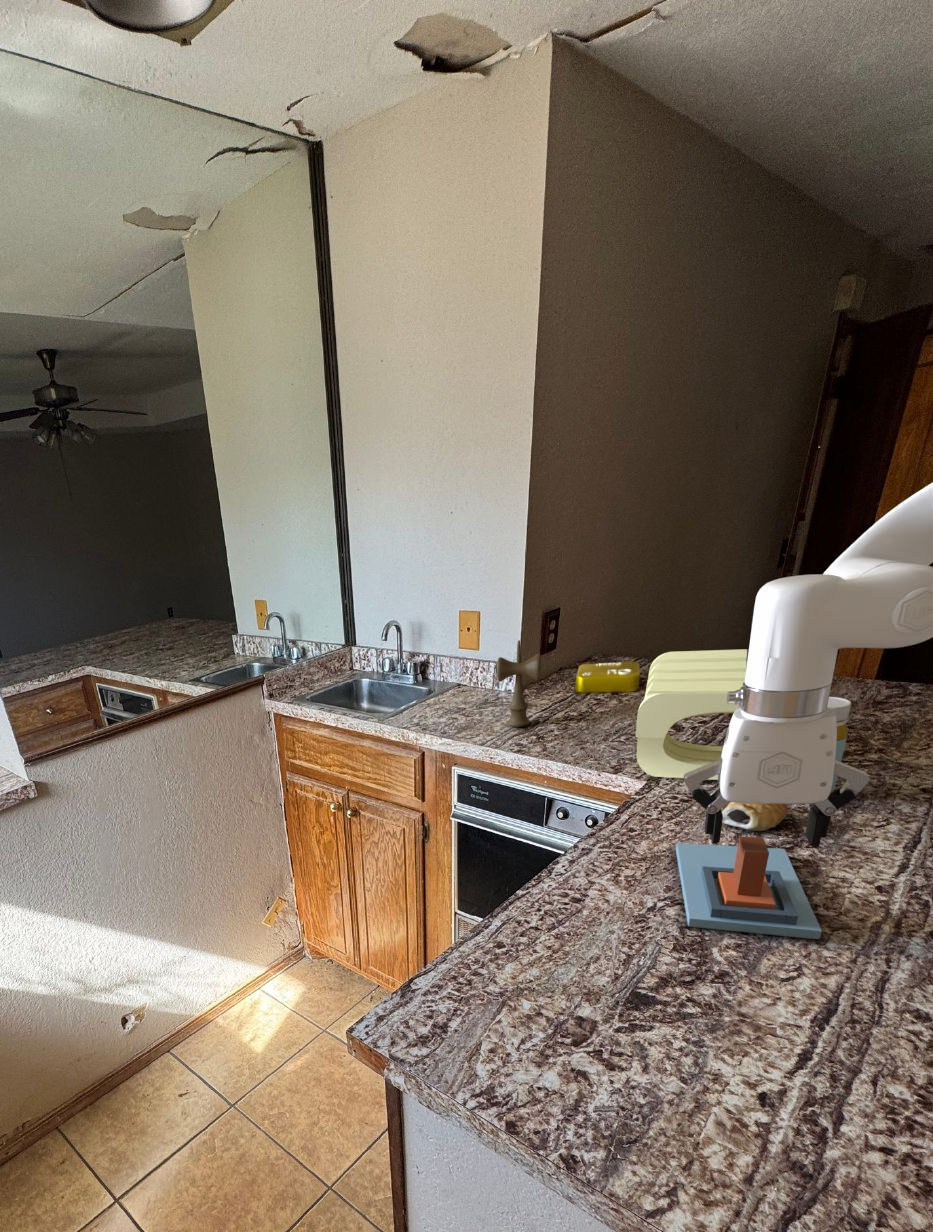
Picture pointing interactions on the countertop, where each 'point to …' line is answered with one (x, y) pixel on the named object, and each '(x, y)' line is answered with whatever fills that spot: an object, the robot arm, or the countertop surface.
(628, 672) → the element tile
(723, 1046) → the countertop surface
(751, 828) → the pastry
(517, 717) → the kendama
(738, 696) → the robot arm
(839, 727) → the bottle
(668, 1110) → the countertop surface
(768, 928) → the back board
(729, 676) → the slatted curved stool
